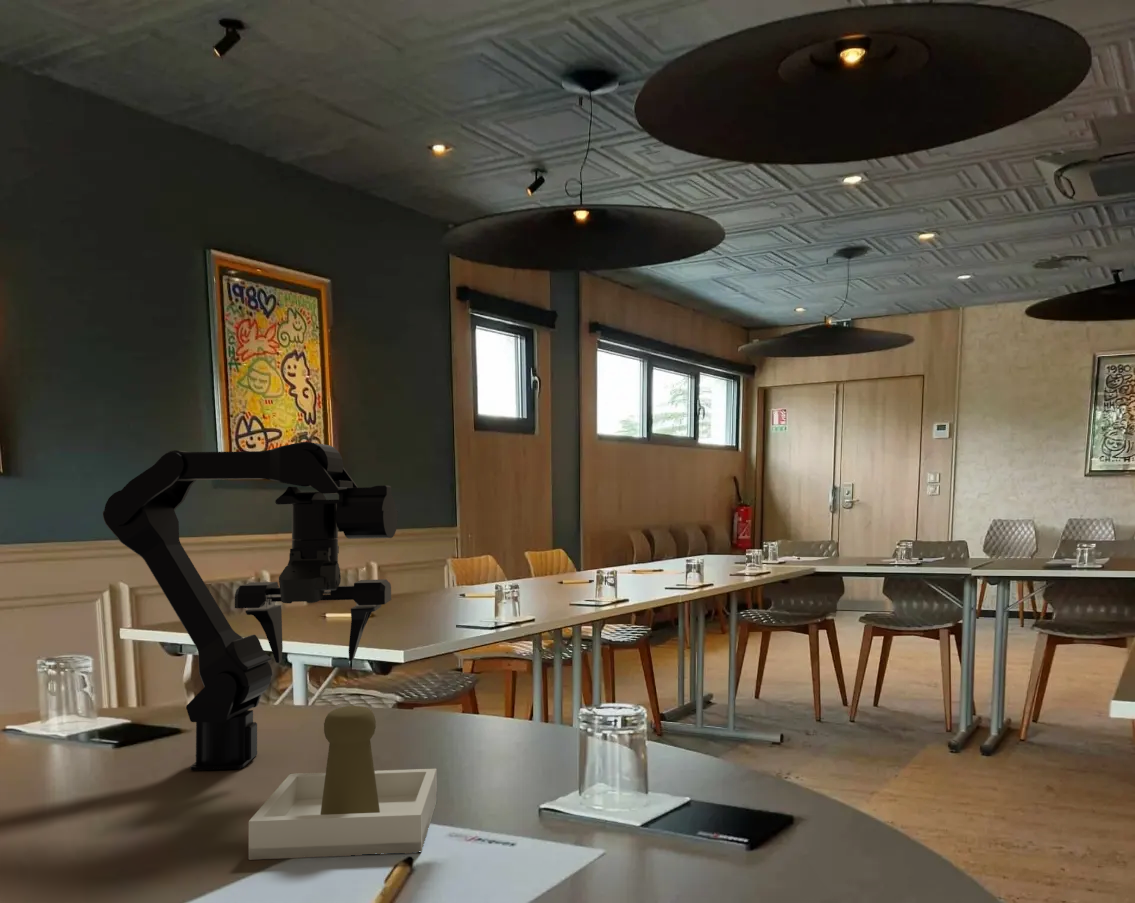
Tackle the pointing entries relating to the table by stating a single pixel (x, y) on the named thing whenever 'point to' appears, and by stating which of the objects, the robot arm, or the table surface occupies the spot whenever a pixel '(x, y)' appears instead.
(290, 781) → the tray
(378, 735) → the table surface
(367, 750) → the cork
